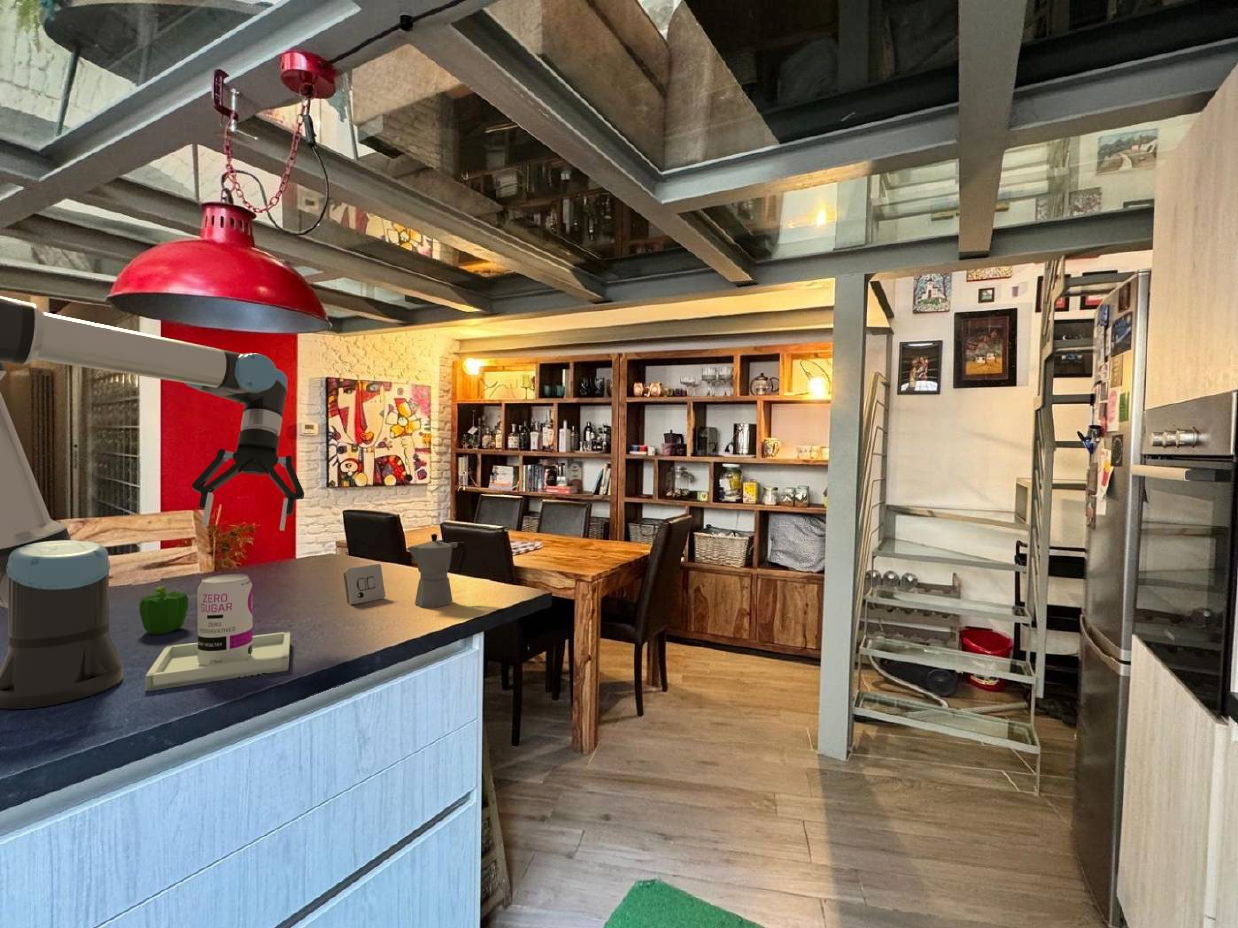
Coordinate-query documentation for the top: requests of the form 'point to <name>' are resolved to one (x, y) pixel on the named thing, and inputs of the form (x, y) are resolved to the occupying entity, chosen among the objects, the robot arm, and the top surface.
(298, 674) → the top surface
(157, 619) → the bell pepper
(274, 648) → the tray
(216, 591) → the supplement can
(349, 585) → the electrical switch
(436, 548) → the coffeepot
